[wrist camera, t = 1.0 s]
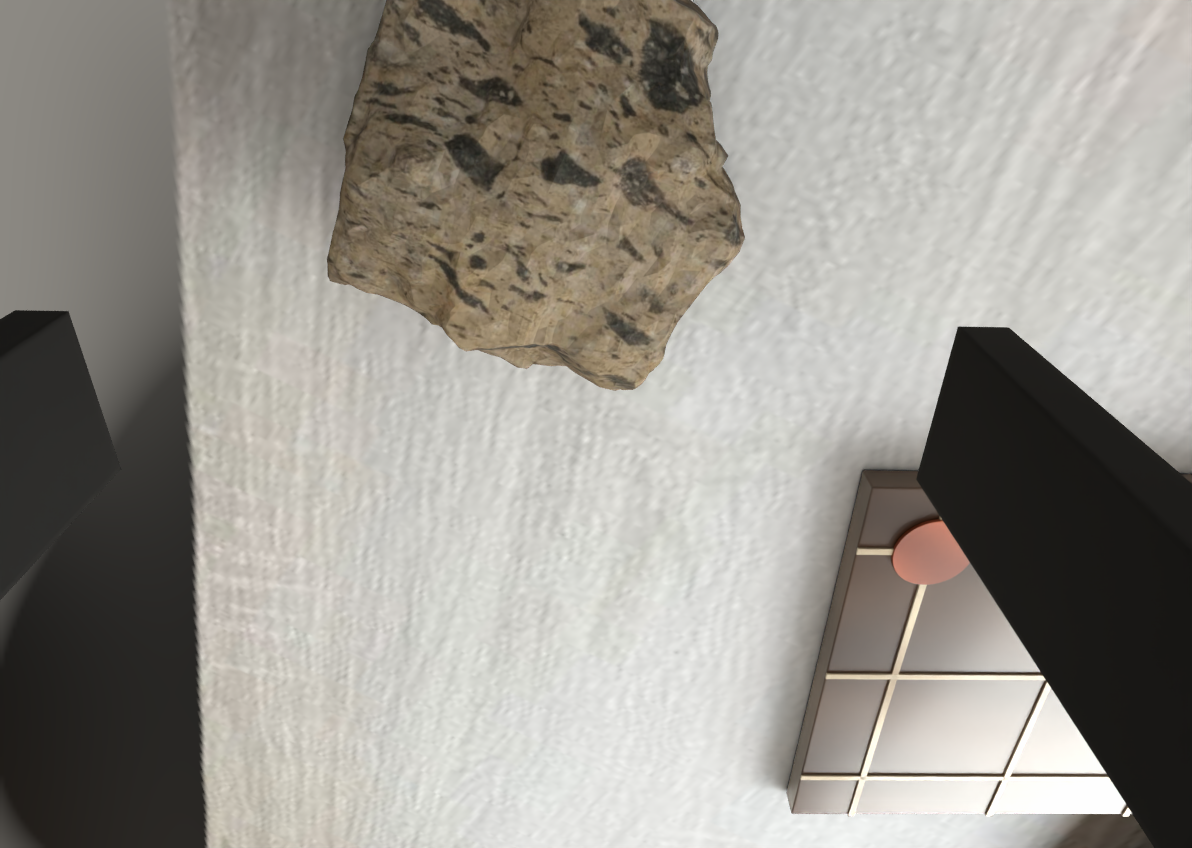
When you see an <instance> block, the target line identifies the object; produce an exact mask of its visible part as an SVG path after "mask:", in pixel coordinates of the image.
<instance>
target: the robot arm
mask: <svg viewBox="0 0 1192 848" xmlns="http://www.w3.org/2000/svg"><path fill="white" fill-rule="evenodd" d="M120 470H121V467H120V465H119V461H118V458H117V455H116V452H115V449H114V446H113V444H112V440H111V437H110V435H109V431H108V428H107V425H106V423H105V419H104V417H103V414H102V410H101V408H100V404H99V402H98V399H97V395H96V393H95V389H94V387H93V384H92V381H91V378H90V375H89V372H88V369H87V366H86V363H85V360H84V357H83V354H82V351H81V348H80V345H79V342H78V339H77V336H76V333H75V330H74V327H73V324H72V321H71V318H70V315H69V312H68V311H19V310H18V311H17V310H16V311H13V312H12V313H10V314H8V315H7V316H5V317H3V318H2V319H0V600H1V599H2V598H3V597H4V596H5V595H6V593H7V592H8V591H9V590H10V589H11V588H12V587H13V586H14V585H15V584H16V583H17V581H18V580H19V579H20V578H21V577H22V576H23V575H24V574H25V573H26V572H27V571H28V570H29V568H30V567H31V566H32V565H33V564H34V563H35V562H36V561H37V560H38V559H39V558H40V557H41V555H42V554H43V553H44V552H45V551H46V550H47V549H48V548H49V547H50V546H51V545H52V544H53V543H54V541H55V540H56V539H57V538H58V537H59V536H60V535H61V534H62V533H63V532H64V531H65V530H66V528H67V527H68V526H69V525H70V524H71V523H72V522H73V521H74V520H75V519H76V517H77V516H78V515H79V514H80V513H81V512H82V511H83V510H84V509H85V508H86V507H87V506H88V505H89V504H90V502H91V501H92V500H93V499H94V498H95V497H96V496H97V495H98V494H99V493H100V492H101V491H102V489H103V488H104V487H105V486H106V485H107V484H108V483H109V481H111V480H112V479H113V478H114V476H115V475H116V474H117V473H118V472H119V471H120ZM916 480H917V482H918V483H919V485H920V486H921V488H922V489H923V491H924V492H925V494H926V495H927V497H928V499H929V500H930V502H931V503H932V505H933V506H934V508H935V509H936V511H937V512H938V514H939V516H940V517H941V519H942V520H943V522H944V523H945V525H946V526H947V528H948V529H949V531H950V533H951V534H952V536H953V537H954V539H955V540H956V542H957V543H958V545H959V546H960V548H961V550H962V551H963V553H964V554H965V556H966V557H967V559H968V560H969V562H970V564H971V565H972V567H973V568H974V570H975V571H976V573H977V574H978V576H979V577H980V579H981V581H982V582H983V584H984V585H985V587H986V588H987V590H988V591H989V593H990V594H991V596H992V598H993V599H994V601H995V602H996V604H997V605H998V607H999V608H1000V610H1001V611H1002V613H1003V615H1004V616H1005V618H1006V619H1007V621H1008V622H1009V624H1010V625H1011V627H1012V628H1013V630H1014V632H1015V633H1016V635H1017V636H1018V638H1019V639H1020V641H1021V642H1022V644H1023V645H1024V647H1025V649H1026V650H1027V652H1028V653H1029V655H1030V656H1031V658H1032V659H1033V661H1034V662H1035V664H1036V666H1037V667H1038V669H1039V670H1040V672H1041V673H1042V675H1043V676H1044V678H1045V679H1046V681H1047V683H1048V684H1049V686H1050V687H1051V689H1052V690H1053V692H1054V693H1055V695H1056V696H1057V698H1058V700H1059V701H1060V703H1061V704H1062V706H1063V707H1064V709H1065V710H1066V712H1067V714H1068V715H1069V717H1070V718H1071V720H1072V721H1073V723H1074V724H1075V726H1076V727H1077V729H1078V731H1079V732H1080V734H1081V735H1082V737H1083V738H1084V740H1085V741H1086V743H1087V744H1088V746H1089V748H1090V749H1091V751H1092V752H1093V754H1094V755H1095V757H1096V758H1097V760H1098V761H1099V763H1100V765H1101V766H1102V768H1103V769H1104V771H1105V772H1106V774H1107V775H1108V777H1109V778H1110V780H1111V782H1112V783H1113V785H1114V786H1115V788H1116V789H1117V791H1118V792H1119V794H1120V795H1121V797H1122V799H1123V800H1124V802H1125V803H1126V805H1127V806H1128V808H1129V809H1130V811H1131V812H1132V814H1133V816H1134V817H1135V819H1136V820H1137V822H1138V823H1139V825H1140V826H1141V828H1142V829H1143V831H1144V833H1145V834H1146V836H1147V837H1148V839H1149V840H1150V842H1151V843H1152V845H1153V846H1154V848H1192V483H1191V482H1190V481H1188V480H1187V479H1186V478H1185V477H1184V476H1183V475H1181V474H1180V473H1179V472H1178V471H1177V470H1175V469H1174V468H1173V467H1172V466H1171V465H1170V464H1168V463H1167V462H1166V461H1165V460H1164V459H1163V458H1161V457H1160V456H1159V455H1158V454H1157V453H1155V452H1154V451H1153V450H1152V449H1151V448H1150V447H1148V446H1147V445H1146V444H1145V443H1144V442H1143V441H1141V440H1140V439H1139V438H1138V437H1137V436H1135V435H1134V434H1133V433H1132V432H1131V431H1130V430H1128V429H1127V428H1126V427H1125V426H1124V425H1123V424H1121V423H1120V422H1119V421H1118V420H1117V419H1116V418H1114V417H1113V416H1112V415H1111V414H1110V413H1108V412H1107V411H1106V410H1105V409H1104V408H1103V407H1101V406H1100V405H1099V404H1098V403H1097V402H1096V401H1094V400H1093V399H1092V398H1091V397H1090V396H1088V395H1087V394H1086V393H1085V392H1084V391H1083V390H1081V389H1080V388H1079V387H1078V386H1077V385H1076V384H1074V383H1073V382H1072V381H1071V380H1070V379H1068V378H1067V377H1066V376H1065V375H1064V374H1063V373H1061V372H1060V371H1059V370H1058V369H1057V368H1056V367H1054V366H1053V365H1052V364H1051V363H1050V362H1049V361H1047V360H1046V359H1045V358H1044V357H1043V356H1041V355H1040V354H1039V353H1038V352H1037V351H1036V350H1034V349H1033V348H1032V347H1031V346H1030V345H1029V344H1027V343H1026V342H1025V341H1024V340H1023V339H1021V338H1020V337H1019V336H1018V335H1017V334H1016V333H1014V332H1013V331H1012V330H1011V329H1010V328H1004V327H958V329H957V333H956V336H955V340H954V343H953V347H952V351H951V354H950V358H949V362H948V365H947V369H946V373H945V376H944V380H943V383H942V387H941V391H940V394H939V398H938V402H937V405H936V409H935V413H934V416H933V420H932V424H931V427H930V431H929V434H928V438H927V442H926V445H925V449H924V453H923V456H922V460H921V464H920V467H919V471H918V474H917V478H916Z"/></svg>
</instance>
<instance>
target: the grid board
mask: <svg viewBox="0 0 1192 848" xmlns="http://www.w3.org/2000/svg"><path fill="white" fill-rule="evenodd" d="M917 474H918V471H876V470H864V471H863V472H862V477H861V481H860V485H859V489H858V493H857V498H856V502H855V506H854V510H853V515H852V519H851V523H850V527H849V531H848V536H847V540H846V544H845V548H844V553H843V557H842V561H841V565H840V569H839V574H838V578H837V582H836V586H835V590H834V595H833V599H832V603H831V607H830V612H829V616H828V620H827V624H826V628H825V633H824V637H823V641H822V645H821V650H820V654H819V658H818V662H817V666H816V671H815V675H814V679H813V683H812V688H811V692H810V696H809V700H808V704H807V709H806V713H805V717H804V721H803V725H802V730H801V734H800V738H799V742H798V747H797V751H796V755H795V759H794V763H793V768H792V772H791V776H790V780H789V785H788V789H787V797H788V801H789V805H790V809H791V813H792V814H848V816H854V815H855V814H985V815H986V816H992V815H993V814H1122V816H1129V814H1132V812H1131V811H1130V809H1129V808H1128V806H1127V805H1126V803H1125V802H1124V800H1123V799H1122V797H1121V795H1120V794H1119V792H1118V791H1117V789H1116V788H1115V786H1114V785H1113V783H1112V782H1111V780H1110V778H1109V777H1108V775H1107V774H1106V772H1105V771H1104V769H1103V768H1102V766H1101V765H1100V763H1099V761H1098V760H1097V758H1096V757H1095V755H1094V754H1093V752H1092V751H1091V749H1090V748H1089V746H1088V744H1087V743H1086V741H1085V740H1084V738H1083V737H1082V735H1081V734H1080V732H1079V731H1078V729H1077V727H1076V726H1075V724H1074V723H1073V721H1072V720H1071V718H1070V717H1069V715H1068V714H1067V712H1066V710H1065V709H1064V707H1063V706H1062V704H1061V703H1060V701H1059V700H1058V698H1057V696H1056V695H1055V693H1054V692H1053V690H1052V689H1051V687H1050V686H1049V684H1048V683H1047V681H1046V679H1045V678H1044V676H1043V675H1042V673H1041V672H1040V670H1039V669H1038V667H1037V666H1036V664H1035V662H1034V661H1033V659H1032V658H1031V656H1030V655H1029V653H1028V652H1027V650H1026V649H1025V647H1024V645H1023V644H1022V642H1021V641H1020V639H1019V638H1018V636H1017V635H1016V633H1015V632H1014V630H1013V628H1012V627H1011V625H1010V624H1009V622H1008V621H1007V619H1006V618H1005V616H1004V615H1003V613H1002V611H1001V610H1000V608H999V607H998V605H997V604H996V602H995V601H994V599H993V598H992V596H991V594H990V593H989V591H988V590H987V588H986V587H985V585H984V584H983V582H982V581H981V579H980V577H979V576H978V574H977V573H976V571H975V570H974V568H973V567H972V565H971V564H970V562H969V560H968V559H967V557H966V556H965V554H964V553H963V551H962V550H961V548H960V546H959V545H958V543H957V542H956V540H955V539H954V537H953V536H952V534H951V533H950V531H949V529H948V528H947V526H946V525H945V523H944V522H943V520H942V519H941V517H940V516H939V514H938V512H937V511H936V509H935V508H934V506H933V505H932V503H931V502H930V500H929V499H928V497H927V495H926V494H925V492H924V491H923V489H922V488H921V486H920V485H919V483H918V482H917V480H916V478H917ZM1181 475H1183V476H1184V477H1185V478H1186V479H1187V480H1188V481H1190V482H1191V483H1192V474H1181Z"/></svg>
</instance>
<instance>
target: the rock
mask: <svg viewBox="0 0 1192 848" xmlns="http://www.w3.org/2000/svg"><path fill="white" fill-rule="evenodd" d="M717 40H718V30H717V27H716V26H715V25H714V24H713V23H712V22H711V21H710V20H709V19H708V17H707V16H706V15H705V13H704V12H703V11H702V10H701V9H700V8H699V7H698V6H697V5H696V4H695V3H693V2H692V1H690V0H387V1H386V4H385V7H384V11H383V15H382V18H381V21H380V24H379V28H378V31H377V34H376V37H375V40H374V41H373V43H372V44H371V45H370V47H369V48H368V51H367V56H366V61H365V66H364V71H363V77H362V80H361V83H360V86H359V89H358V91H357V93H356V95H355V97H354V103H353V109H352V112H351V115H350V118H349V121H348V125H347V128H346V131H345V135H344V138H343V140H344V144H345V149H346V155H345V166H346V169H345V173H344V177H343V182H342V187H341V192H340V205H339V211H338V215H337V220H336V224H335V227H334V230H333V235H332V240H331V245H330V250H329V254H328V258H327V263H328V277H329V279H330V281H332V282H336V283H340V284H344V285H348V284H349V285H352V286H354V287H355V288H357V289H359V290H362V291H364V292H366V293H372V294H378V295H381V296H384V297H386V298H389V299H392V300H394V301H397V302H399V303H402V304H404V305H406V306H408V307H410V308H411V309H413V310H415V311H416V312H418V313H419V314H421V315H422V316H424V317H425V318H426V319H427V320H428V321H429V322H430V323H431V324H434V325H439V326H440V327H442V328H443V330H444V331H445V333H446V334H447V335H448V336H449V337H450V338H451V339H452V340H453V341H454V342H455V344H456V345H457V346H458V347H459V348H461V349H463V350H465V351H472V350H480V351H482V352H485V353H487V354H490V355H494V356H498V357H501V358H503V359H504V360H506V361H508V362H509V363H511V364H513V365H514V366H516V367H519V368H526V369H527V368H529V367H530V366H531V365H532V364H539V365H547V366H557V365H558V366H567V367H568V368H570V369H571V370H572V371H574V372H575V373H577V374H578V375H580V376H582V377H584V378H585V379H587V380H589V381H591V382H592V383H594V384H596V385H597V386H599V387H602V388H606V389H610V390H615V391H616V390H619V389H621V390H633V389H635V388H637V387H638V386H640V385H641V384H642V383H643V382H644V381H645V379H646V378H647V376H648V374H649V373H650V372H651V371H653V370H654V368H655V367H657V366H658V365H659V364H660V362H661V361H662V359H663V357H664V353H665V348H666V344H667V341H668V339H669V337H670V335H671V333H672V331H673V329H674V328H675V326H676V324H677V322H678V321H679V320H680V318H681V317H682V316H683V314H684V313H685V312H686V311H687V309H688V308H689V307H690V305H691V304H692V303H693V301H694V300H695V299H696V298H697V296H698V295H699V294H700V292H701V291H702V290H703V289H704V287H705V286H706V285H707V284H708V283H709V282H710V281H711V280H712V279H713V278H714V277H715V276H716V275H718V274H719V273H721V272H722V271H723V270H724V269H725V268H726V267H727V266H728V265H729V264H730V263H731V262H732V260H733V259H734V258H735V257H736V255H737V254H738V253H739V251H740V249H741V246H742V244H743V241H744V239H745V236H744V232H743V229H742V223H741V217H740V207H741V205H740V203H739V200H738V198H737V195H736V193H735V190H734V187H733V184H732V182H731V180H730V178H729V177H728V175H727V173H726V171H725V170H724V169H723V168H722V166H723V164H724V163H725V161H726V159H727V157H728V155H727V153H726V152H725V150H724V149H723V147H722V146H721V145H720V144H719V143H718V142H717V141H716V138H715V133H714V124H713V112H712V106H711V103H710V102H709V101H710V97H711V92H710V88H709V84H708V77H707V68H708V65H709V63H710V62H711V60H712V55H713V51H714V48H715V45H716V42H717Z"/></svg>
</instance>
